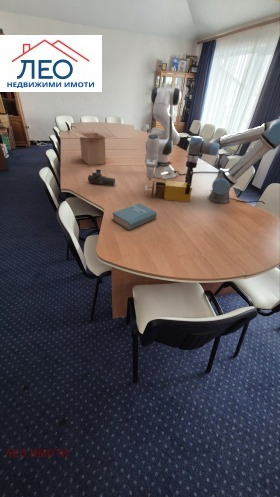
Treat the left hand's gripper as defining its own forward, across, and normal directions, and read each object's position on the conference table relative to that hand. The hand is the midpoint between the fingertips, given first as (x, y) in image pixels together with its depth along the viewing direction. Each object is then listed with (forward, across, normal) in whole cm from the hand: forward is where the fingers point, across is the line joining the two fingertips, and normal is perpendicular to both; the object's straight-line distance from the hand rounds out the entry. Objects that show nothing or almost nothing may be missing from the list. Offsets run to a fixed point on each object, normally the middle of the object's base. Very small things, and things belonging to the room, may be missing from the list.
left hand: (149, 179), depth 165 cm
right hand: (+6, 0, +28) cm, 29 cm away
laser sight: (+12, -15, -40) cm, 45 cm away
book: (+12, +41, -7) cm, 43 cm away
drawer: (+11, 0, +9) cm, 14 cm away
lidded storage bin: (+12, 0, +22) cm, 25 cm away
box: (+12, -78, -63) cm, 101 cm away
